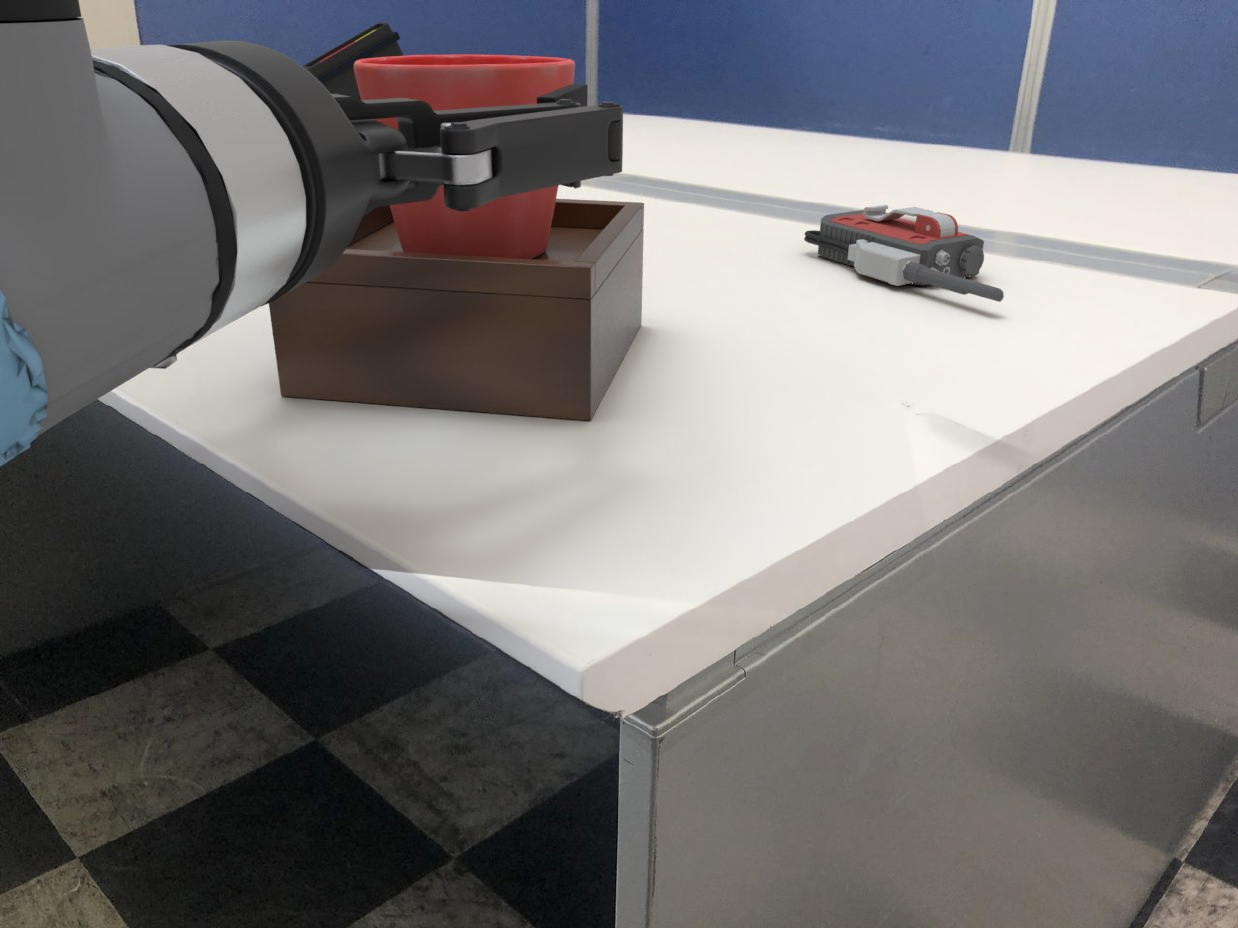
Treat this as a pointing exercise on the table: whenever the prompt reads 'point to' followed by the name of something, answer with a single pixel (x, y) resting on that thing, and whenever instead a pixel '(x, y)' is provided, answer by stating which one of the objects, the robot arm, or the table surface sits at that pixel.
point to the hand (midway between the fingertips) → (437, 111)
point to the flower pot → (465, 84)
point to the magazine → (353, 58)
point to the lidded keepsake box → (470, 319)
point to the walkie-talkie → (904, 248)
